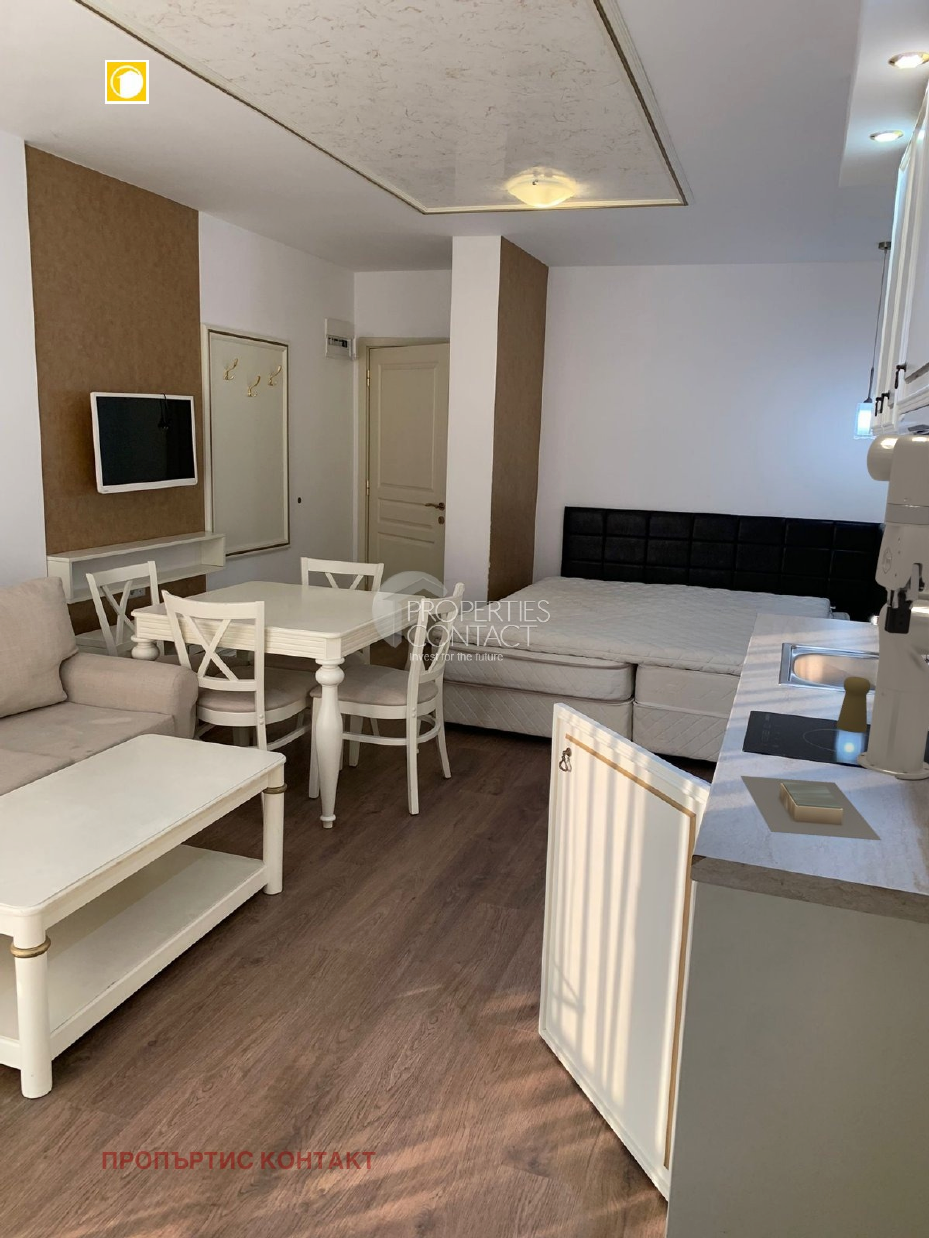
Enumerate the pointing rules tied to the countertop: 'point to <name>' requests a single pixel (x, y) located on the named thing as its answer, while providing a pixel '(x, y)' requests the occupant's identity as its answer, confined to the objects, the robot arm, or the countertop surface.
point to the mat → (781, 821)
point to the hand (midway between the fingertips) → (896, 632)
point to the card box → (810, 803)
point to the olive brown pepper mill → (854, 705)
